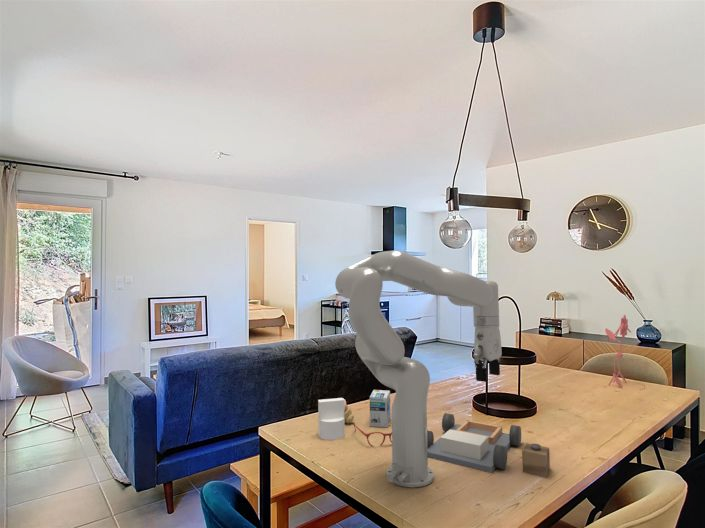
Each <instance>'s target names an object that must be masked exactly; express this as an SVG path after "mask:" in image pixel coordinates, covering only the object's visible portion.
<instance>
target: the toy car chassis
mask: <svg viewBox="0 0 705 528" xmlns="http://www.w3.org/2000/svg"><path fill="white" fill-rule="evenodd" d="M441 428H442V431H443V432H444V434H442V435H441V436H440V437H439V438H438V439H437V440H436V441H434V440H435V438H434V435H435V434H434V432H433V431H432V430H428V429H427V452H428V458H430V459H434V460H438V461H441V462H447V463H450V464H455V465H459V466H461V467H467V468H470V469H475V470H479V471H483V472H487V473H490V474H493V472H494V471H495V469H496V468H497V469H499V470H500V469H501V470H505V469H506V467H507V463H508V451H509V449H510V447H511V446H516V447H520V446H521V443H522V442H521V441H522V428H521V426H520V425H514V424H511V425H510V428H509V433H506V432H503V426H500V425H495V424H489V423H483V422H479V421H473V420H465V421H464V422H463V423H462V424H459V423H455V416H454V414H452V413H444V414H443V416H442V419H441Z"/></svg>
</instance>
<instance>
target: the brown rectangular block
mask: <svg viewBox="0 0 705 528" xmlns="http://www.w3.org/2000/svg"><path fill="white" fill-rule="evenodd" d="M521 452H522V453H521V455H522V456H521V458H522V459H521V460H522V463H521V464H522V473H525V474H530V475H533V476H537V477H542V478H547V477H548V475H549V473H550V470H551V461H550V460H551V458H550V455H551V453H550V447H549V446H548V447H547V446H543V445H540V444H539V443H529V442H527V443H525V445H524V447H523V448H522V451H521Z"/></svg>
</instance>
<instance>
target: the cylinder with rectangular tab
mask: <svg viewBox="0 0 705 528" xmlns="http://www.w3.org/2000/svg"><path fill="white" fill-rule="evenodd" d="M317 401H318V403H317V405H318V406H317V408H318V410H317V411H318V414H317V415H318V418H317V420H318V438H319V439H322V440H324V441H325V440H326V441H337V440H336V439H338V440H341V439H342V437H343V438H344V437H345V432H346V431H345V424H346V422H344V398H343V397H337V398H325V399H324V398H323V399H317ZM340 438H341V439H340Z"/></svg>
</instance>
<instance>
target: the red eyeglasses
mask: <svg viewBox="0 0 705 528" xmlns="http://www.w3.org/2000/svg"><path fill="white" fill-rule="evenodd" d="M353 426H354V429H355V431H357V430H358V431H359V432H360V433H361V434H362V435H363V436H365V437H366V439H367V440H366V441H367V443H368V445H370V446H371V447H374V445H373V444H371V443H370V441H369V437H370V435H373V434H380V435H382V436H383V439H382V442H381V443H380V444H379V445H381V446H382V445H383V444H384V442H385V440H386V437H389V441H390V443H391V444H392V431H391V432H390V433H388V432H387V433H383V432H381V431H373V432H370V433H365V432H364V431H363V430H361V429H360V428H359V427H358V426H357V425H356V424H355V423H353Z"/></svg>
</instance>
